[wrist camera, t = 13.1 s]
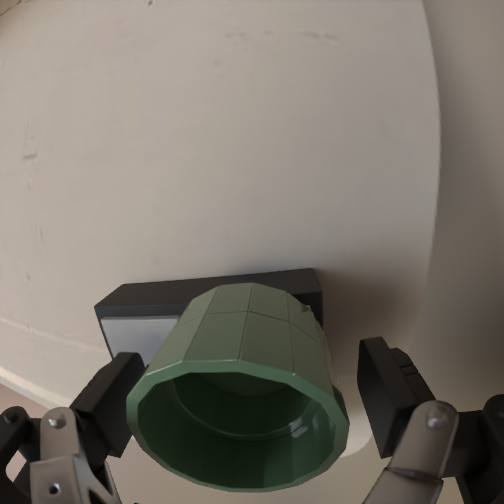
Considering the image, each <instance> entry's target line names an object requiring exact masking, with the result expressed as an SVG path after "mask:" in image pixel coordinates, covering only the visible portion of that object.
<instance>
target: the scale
mask: <svg viewBox="0 0 504 504" xmlns="http://www.w3.org/2000/svg"><path fill="white" fill-rule="evenodd" d="M251 282H252V283H258V284H261V285H265V286H268V287H272V288H276V289H279V290H283V291H286V293H289V294H290V295H292V296H293V297H294V298H296V299H297V300H298V301H300V302H301V303H302V304H304V305H305V306H306V307H308V308H309V309H310V310H311V311H312V312H313V313H314V315H315V317H316V319H317V321H318V323H319V324H320V326H321V328H322V330H323V303H322V291H321V288H320V286H319V283H318V281H317V278H316V276H315V274H314V271H313V269H312V268H306V269H297V270H287V271H277V272H267V273H257V274H246V275H235V276H224V277H213V278H201V279H189V280H177V281H164V282H151V283H137V284H123V285H121V286H120V287H118V288H117V289H116V290H114V291H113V292H112V293H110V294H109V295H108V296H107V297H105V298H104V299H103V300H101V301H100V302H99V303H98V304H96V305H95V306H94V309H95V312H96V315H97V319H98V322H99V325H100V328H101V331H102V333H103V336H104V339H105V342H106V345H107V347H108V350H109V353H110V355H111V358H112V360H113V359H114V357H115V356H116V355H117V354H118V353H119V352H137V353H139V354H140V355H141V357H142V360H143V362H144V365H145V367H146V366H147V364H148V362H149V361H150V359H151V358H152V356H153V355H154V353H155V352H156V350H157V349H158V347H159V345H160V344H161V342H162V341H163V339H164V338H165V336H166V335H167V333H168V332H169V330H170V329H171V327H172V326H173V324H174V322H175V321H176V319H177V318H178V317H179V316H180V314H181V313H182V312H183V310H184V309H185V308H186V306H187V305H188V304H189V303H190V301H191V300H193V299H194V298H196V297H198V296H200V295H202V294H204V293H206V292H208V291H210V290H212V289H214V288H215V287H217V286H220V285H229V284H240V283H251Z"/></svg>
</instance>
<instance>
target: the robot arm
mask: <svg viewBox="0 0 504 504" xmlns="http://www.w3.org/2000/svg"><path fill="white" fill-rule="evenodd" d="M144 369H145V365H144V362H143V360H142V357H141V355H140V354H139V353H137V352H119V353H118V354H117V355H116V356H115V357H114V359H113V360H112V361H111V362H110V363H109V364H107V365H106V366H104V367H103V368H101V369H100V370H99V371H98V372H97V373H96V374H95V376H94V377H93V380H92V379H91V380H90V382H89V383H88V384H87V385H88V386H86V387H85V388H84V389H83V390H82V391H81V393H80V394H79V395H78V396H77V398H76V399H75V400H74V401H73V403H72V404H71V405H70V406H69V408H67V407H57V408H54V409H51V410H50V411H48V412H47V413H46V414H45V415H44V416H43V418H30V417H29V415H28V414H27V412H26V411H25V410H24V408H23V407H20V406H14V407H10V408H8V409H6V410H5V411H4V412H3V413H2V414H1V415H0V504H122V502H121V500H120V498H119V495H118V492H117V489H116V486H115V483H114V480H113V478H112V474H111V471H110V468H109V465H108V463H107V461H106V460H105V459H106V458H107V456H108V455H110V456H114V457H118V458H121V456H122V453H123V452H124V450H125V448H126V445H127V444H128V442H129V440H130V438H131V436H132V432H131V430H130V429H129V427H128V425H127V410H126V398H127V396H128V394H129V392H130V391H131V389H132V388H133V386H134V384H135V383H136V381H137V380H138V378H139V377H140V375H141V373H142V372H143V370H144ZM357 383H358V389H359V393H360V395H361V398H362V401H363V404H364V407H365V410H366V413H367V416H368V419H369V422H370V425H371V429H372V432H373V435H374V438H375V441H376V444H377V448H378V451H379V454H380V457H381V459H383V458H387V457H391V456H392V458H391V460H390V462H389V463H388V465H387V467H385V468H384V469H383V471H382V473H381V474H380V476H379V477H378V479H377V481H376V482H375V484H374V486H373V487H372V489H371V491H370V492H369V494H368V495H367V497H366V498H365V500H364V501H363V503H362V504H436V502H437V500H438V497H439V495H440V492H441V490H442V486H443V482H444V481H443V480H442V478H445V477H455V478H456V481H457V484H458V487H459V490H460V492H461V495H462V498H463V502H464V504H504V394H500V395H496V396H493V397H491V398H490V399H489V400H488V401H487V402H486V404H485V406H484V408H483V410H478V411H468V412H457V410H456V409H455V408H454V407H453V406H452V405H451V404H449V403H447V402H443V401H437V400H436V399H435V397H434V395H433V394H432V392H431V390H430V389H429V387H428V386H427V384H426V382H425V381H424V379H423V378H422V376H421V375H420V373H418V370H417V368H416V367H415V365H413V362H412V361H411V359H410V358H409V356H408V355H407V354H406V353H404V352H403V351H401V350H400V349H398V348H392V349H389V347H388V345H387V344H386V342H385V340H384V339H383V337H381V336H380V337H375V338H369V339H363V340H361V341H360V344H359V358H358V370H357ZM17 450H18V451H19V452H20V453H21V454H22V455H23V457H24V458H25V459H26V460H27V461H26V463H25V465H24V467H23V468H22V469H21V471H20V472H19V474H18V475H17V477H16V479H15V480H14V482H12V481H11V480H10V479H9V478H8V477H7V475H6V466H7V464H8V463H9V462H10V460H11V458H12V457H13V456H14V454H15V453H16V451H17ZM134 504H138V503H134Z"/></svg>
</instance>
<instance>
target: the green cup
mask: <svg viewBox="0 0 504 504" xmlns="http://www.w3.org/2000/svg"><path fill="white" fill-rule="evenodd" d="M126 410H127V425H128V427H129V429H130V430H131V432H132V434H133V436H134V437H135V439H136V441H137V442H138V444H139V446H140V447H141V448H142V450H143V451H145V452H146V453H147V454H148V455H149V456H150V457H151V458H153V459H154V460H155V461H156V462H157V463H159V464H160V465H161V466H162V467H163V468H165V469H166V470H168V471H170V472H172V473H174V474H176V475H178V476H180V477H182V478H184V479H187V480H189V481H191V482H193V483H196V484H198V485H202V486H206V487H210V488H215V489H219V490H224V491H229V492H270V491H276V490H280V489H285V488H289V487H293V486H298V485H300V484H303V483H304V482H307V481H308V480H310V479H312V478H314V477H316V476H318V475H320V474H321V473H323V472H325V471H327V470H328V469H329V468H330V467H331V466H332V464H333V463H334V462H335V461H336V460H337V459H338V458H339V456H340V455H341V454H342V453H343V452H344V451H345V449H346V444H347V438H348V432H349V425H350V423H349V418H348V415H347V411H346V407H345V403H344V400H343V396H342V392H341V389H340V385H339V381H338V378H337V374H336V371H335V368H334V364H333V361H332V357H331V354H330V350H329V347H328V344H327V340H326V337H325V334H324V332H323V330H322V328H321V326H320V324H319V323H318V321H317V319H316V317H315V315H314V313H313V312H312V311H311V310H310V309H309V308H308V307H306V306H305V305H304V304H302V303H301V302H300V301H298V300H297V299H296V298H294V297H293V296H292V295H290V294H289V293H286V291H283V290H279V289H276V288H272V287H268V286H265V285H261V284H258V283H252V282H251V283H240V284H229V285H220V286H217V287H215V288H214V289H212V290H210V291H208V292H206V293H204V294H202V295H200V296H198V297H196V298H194V299H193V300H191V301H190V303H189V304H188V305H187V306H186V308H185V309H184V310H183V312H182V313H181V314H180V316H179V317H178V318H177V319H176V321H175V322H174V324H173V326H172V327H171V329H170V330H169V332H168V333H167V335H166V336H165V338H164V339H163V341H162V342H161V344H160V345H159V347H158V349H157V350H156V352H155V353H154V355H153V356H152V358H151V359H150V361H149V362H148V364H147V366H146V367H145V369H144V370H143V372H142V373H141V375H140V377H139V378H138V380H137V381H136V383H135V384H134V386H133V388H132V389H131V391H130V392H129V394H128V396H127V398H126Z"/></svg>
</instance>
